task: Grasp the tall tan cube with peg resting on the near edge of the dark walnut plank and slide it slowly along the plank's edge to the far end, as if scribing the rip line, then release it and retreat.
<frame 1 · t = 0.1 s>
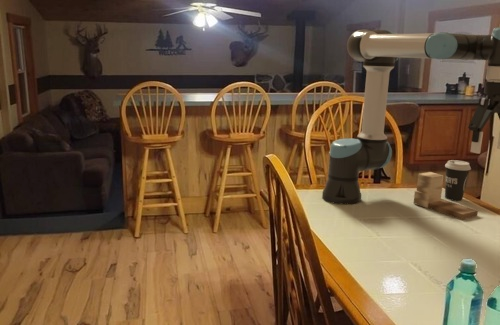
hand: (488, 150, 145), 28 cm above the table, fingers open, 13 cm apart
plank: (444, 209, 177), on the table
coffee cup: (453, 198, 191), on the table
tan cube with peg: (427, 199, 181), point 2 cm above the table, touching plank
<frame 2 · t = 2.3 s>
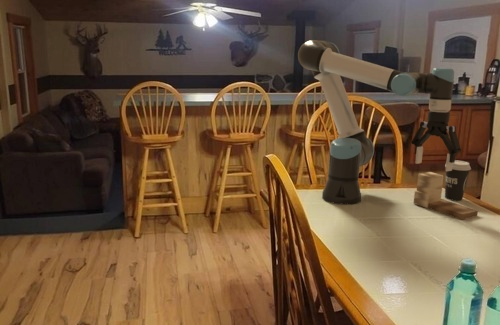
hand: (433, 166, 178), 15 cm above the table, fingers open, 13 cm apart
nothing on the table moved.
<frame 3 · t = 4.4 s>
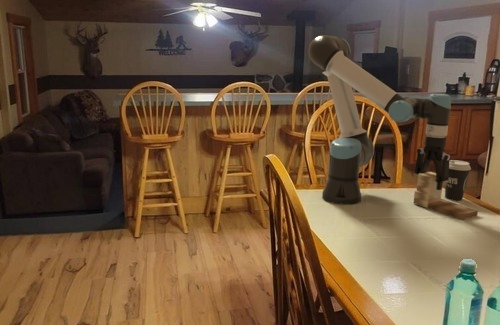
hand: (428, 195, 181), 4 cm above the table, fingers closed on tan cube with peg, 6 cm apart
tan cube with peg: (427, 199, 181), point 2 cm above the table, touching gripper, plank
everything else where it was.
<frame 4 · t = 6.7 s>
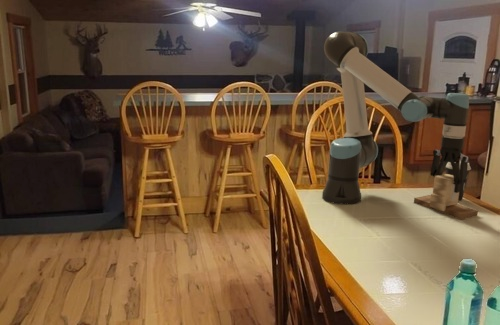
hand: (445, 197, 174), 5 cm above the table, fingers closed on tan cube with peg, 6 cm apart
tan cube with peg: (444, 202, 175), point 3 cm above the table, touching gripper
everything else where it was.
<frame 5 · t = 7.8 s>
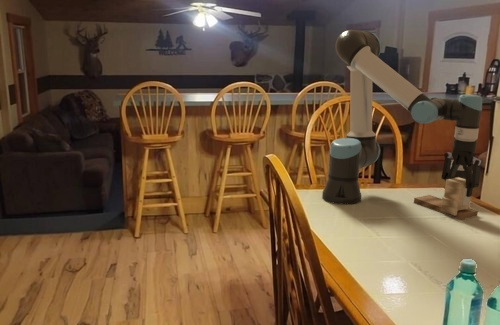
hand: (456, 201, 170), 5 cm above the table, fingers closed on tan cube with peg, 6 cm apart
tan cube with peg: (456, 206, 171), point 3 cm above the table, touching gripper
everything else where it was.
when the fingers open (5 cm above the table, at t = 9.0 s): tan cube with peg stays where it is, resting on plank.
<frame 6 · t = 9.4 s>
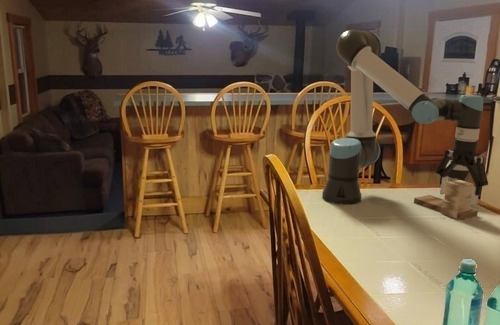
hand: (458, 198, 170), 6 cm above the table, fingers open, 12 cm apart
tan cube with peg: (456, 209, 171), point 2 cm above the table, touching plank
everything else where it was.
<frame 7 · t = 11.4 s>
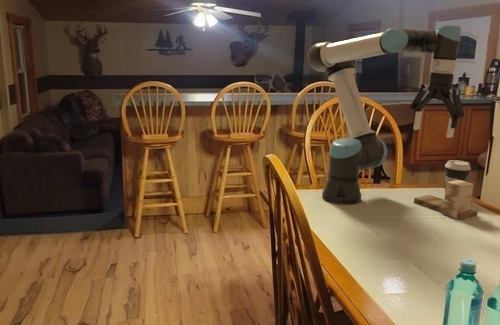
hand: (432, 133, 166), 29 cm above the table, fingers open, 13 cm apart
nothing on the table moved.
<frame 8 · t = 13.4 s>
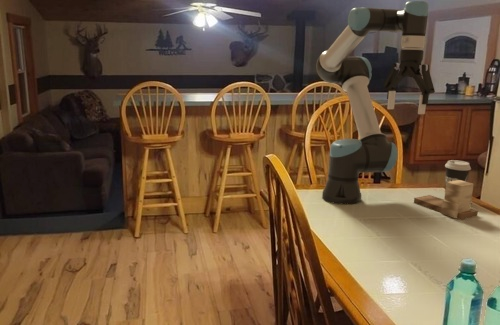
hand: (405, 111, 164), 37 cm above the table, fingers open, 13 cm apart
nothing on the table moved.
at the end: tan cube with peg 0.7 cm from the target spot, point 2.0 cm above the table; tan cube with peg tilted 0°; the gripper is holding nothing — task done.
